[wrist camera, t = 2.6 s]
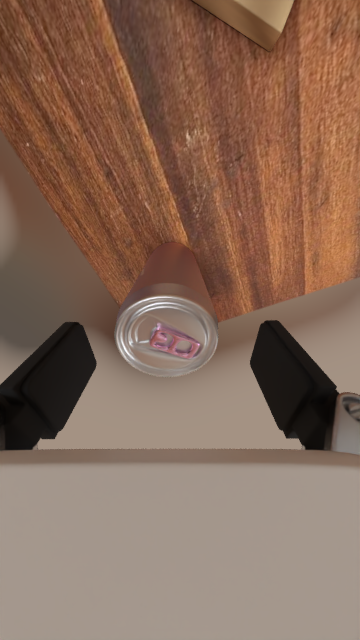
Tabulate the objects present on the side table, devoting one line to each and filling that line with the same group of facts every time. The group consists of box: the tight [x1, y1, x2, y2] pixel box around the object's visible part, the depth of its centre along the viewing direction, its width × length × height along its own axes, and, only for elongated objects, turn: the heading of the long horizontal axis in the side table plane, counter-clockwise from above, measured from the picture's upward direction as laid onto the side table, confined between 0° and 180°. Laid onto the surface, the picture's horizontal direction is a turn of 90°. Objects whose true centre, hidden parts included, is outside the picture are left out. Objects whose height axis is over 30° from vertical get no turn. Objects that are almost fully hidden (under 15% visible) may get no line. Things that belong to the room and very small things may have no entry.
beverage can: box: [115, 242, 218, 377], centre depth 16 cm, size 6×6×15 cm
